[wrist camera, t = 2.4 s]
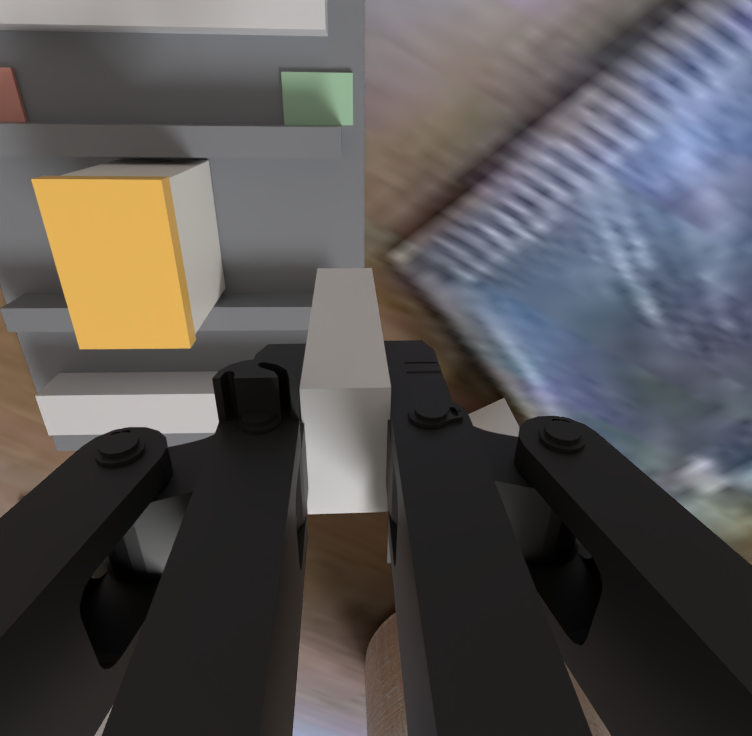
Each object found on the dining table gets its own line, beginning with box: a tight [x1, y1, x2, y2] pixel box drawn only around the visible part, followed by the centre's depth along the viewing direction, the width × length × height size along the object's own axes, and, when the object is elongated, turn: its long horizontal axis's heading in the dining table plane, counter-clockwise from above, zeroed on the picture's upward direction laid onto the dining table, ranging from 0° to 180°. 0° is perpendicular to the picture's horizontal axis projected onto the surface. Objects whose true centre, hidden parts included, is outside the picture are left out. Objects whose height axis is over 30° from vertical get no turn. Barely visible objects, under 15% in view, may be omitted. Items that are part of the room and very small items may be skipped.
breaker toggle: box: [31, 160, 225, 349], centre depth 21 cm, size 4×6×7 cm
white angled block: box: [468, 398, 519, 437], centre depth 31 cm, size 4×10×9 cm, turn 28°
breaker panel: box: [0, 0, 365, 451], centre depth 25 cm, size 18×26×5 cm
